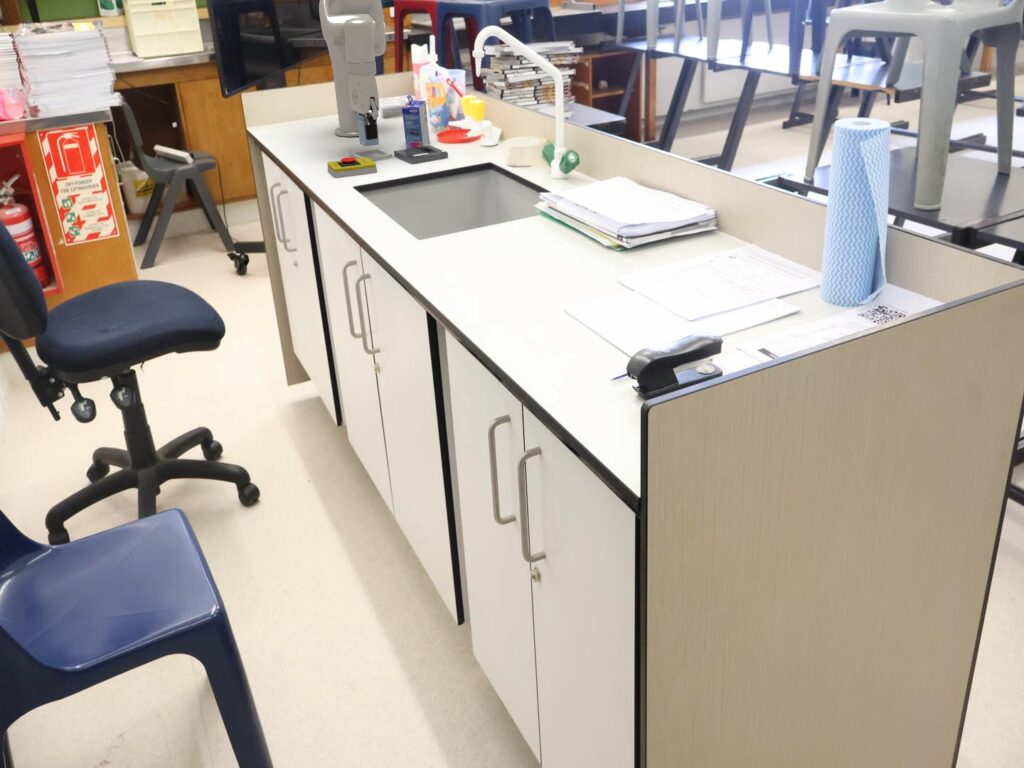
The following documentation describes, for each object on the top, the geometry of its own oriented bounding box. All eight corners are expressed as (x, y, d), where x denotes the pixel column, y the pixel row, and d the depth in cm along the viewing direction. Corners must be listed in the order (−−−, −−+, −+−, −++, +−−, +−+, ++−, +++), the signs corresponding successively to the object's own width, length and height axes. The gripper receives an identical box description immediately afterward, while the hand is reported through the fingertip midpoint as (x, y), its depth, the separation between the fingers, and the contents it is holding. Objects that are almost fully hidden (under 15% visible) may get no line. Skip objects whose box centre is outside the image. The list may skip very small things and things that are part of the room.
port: (394, 158, 253) (393, 149, 251) (429, 152, 258) (429, 144, 256) (412, 166, 244) (411, 157, 243) (448, 159, 249) (447, 151, 248)
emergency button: (320, 158, 239) (375, 151, 244) (322, 174, 241) (376, 167, 246) (327, 165, 232) (384, 158, 237) (330, 182, 234) (386, 175, 239)
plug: (359, 143, 252) (356, 114, 248) (373, 141, 254) (370, 112, 250) (365, 146, 249) (362, 116, 245) (379, 144, 251) (376, 114, 247)
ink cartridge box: (411, 142, 269) (407, 92, 262) (430, 142, 268) (426, 91, 262) (404, 150, 260) (400, 98, 253) (423, 150, 260) (420, 98, 253)
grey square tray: (349, 158, 254) (349, 152, 253) (379, 153, 258) (378, 148, 257) (362, 164, 247) (362, 159, 247) (392, 159, 251) (392, 154, 251)
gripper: (336, 65, 246) (344, 133, 255) (361, 74, 234) (368, 145, 243) (362, 62, 250) (368, 129, 258) (388, 70, 237) (394, 141, 246)
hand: (368, 136), depth 250 cm, fingers closed on plug, 4 cm apart
